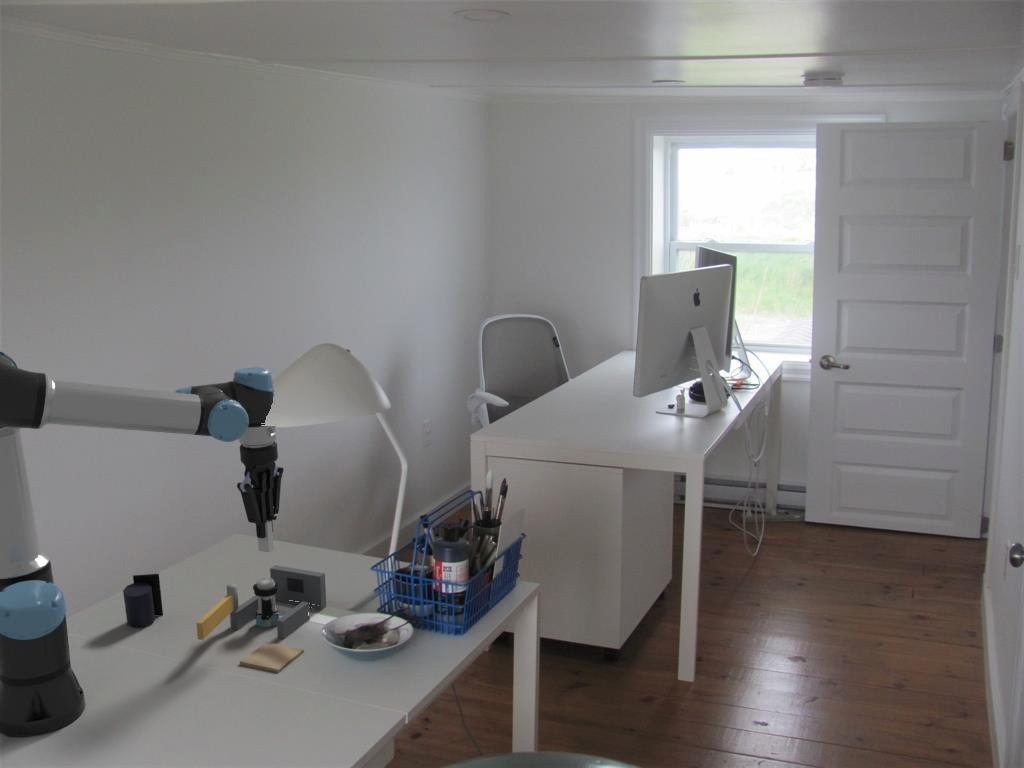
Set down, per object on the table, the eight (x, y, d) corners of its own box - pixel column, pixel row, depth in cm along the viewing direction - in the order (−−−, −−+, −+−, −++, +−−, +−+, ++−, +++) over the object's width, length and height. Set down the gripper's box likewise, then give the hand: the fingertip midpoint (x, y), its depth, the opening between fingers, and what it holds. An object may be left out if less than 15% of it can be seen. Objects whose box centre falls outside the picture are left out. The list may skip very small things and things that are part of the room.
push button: (285, 617, 222) (283, 574, 220) (287, 627, 217) (285, 584, 215) (254, 621, 220) (251, 578, 218) (255, 631, 215) (253, 587, 213)
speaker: (139, 611, 224) (135, 569, 221) (163, 614, 223) (160, 572, 220) (121, 629, 217) (117, 586, 213) (146, 633, 216) (142, 590, 213)
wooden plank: (230, 605, 217) (229, 583, 216) (240, 605, 217) (239, 584, 216) (195, 639, 202) (193, 615, 201) (205, 639, 201) (204, 616, 200)
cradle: (283, 639, 211) (282, 603, 210) (228, 628, 216) (226, 593, 214) (326, 606, 227) (325, 573, 225) (273, 597, 232) (272, 564, 230)
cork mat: (278, 672, 198) (278, 669, 197) (239, 664, 201) (239, 661, 201) (303, 652, 206) (303, 649, 206) (266, 644, 209) (265, 642, 209)
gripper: (253, 453, 201) (262, 564, 206) (291, 436, 213) (299, 541, 218) (222, 449, 204) (232, 559, 209) (262, 433, 215) (270, 537, 221)
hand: (266, 550), depth 213 cm, fingers closed
